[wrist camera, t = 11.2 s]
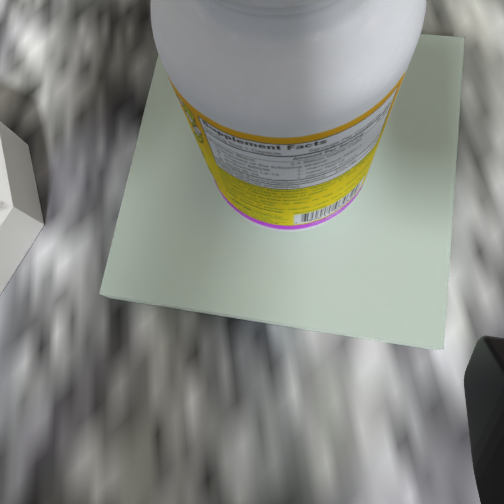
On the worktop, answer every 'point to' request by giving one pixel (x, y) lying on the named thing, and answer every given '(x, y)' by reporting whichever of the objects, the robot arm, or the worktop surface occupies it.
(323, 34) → the supplement bottle
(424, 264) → the sage board
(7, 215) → the white flat octagonal ring
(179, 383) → the worktop surface
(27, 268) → the worktop surface
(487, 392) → the robot arm
